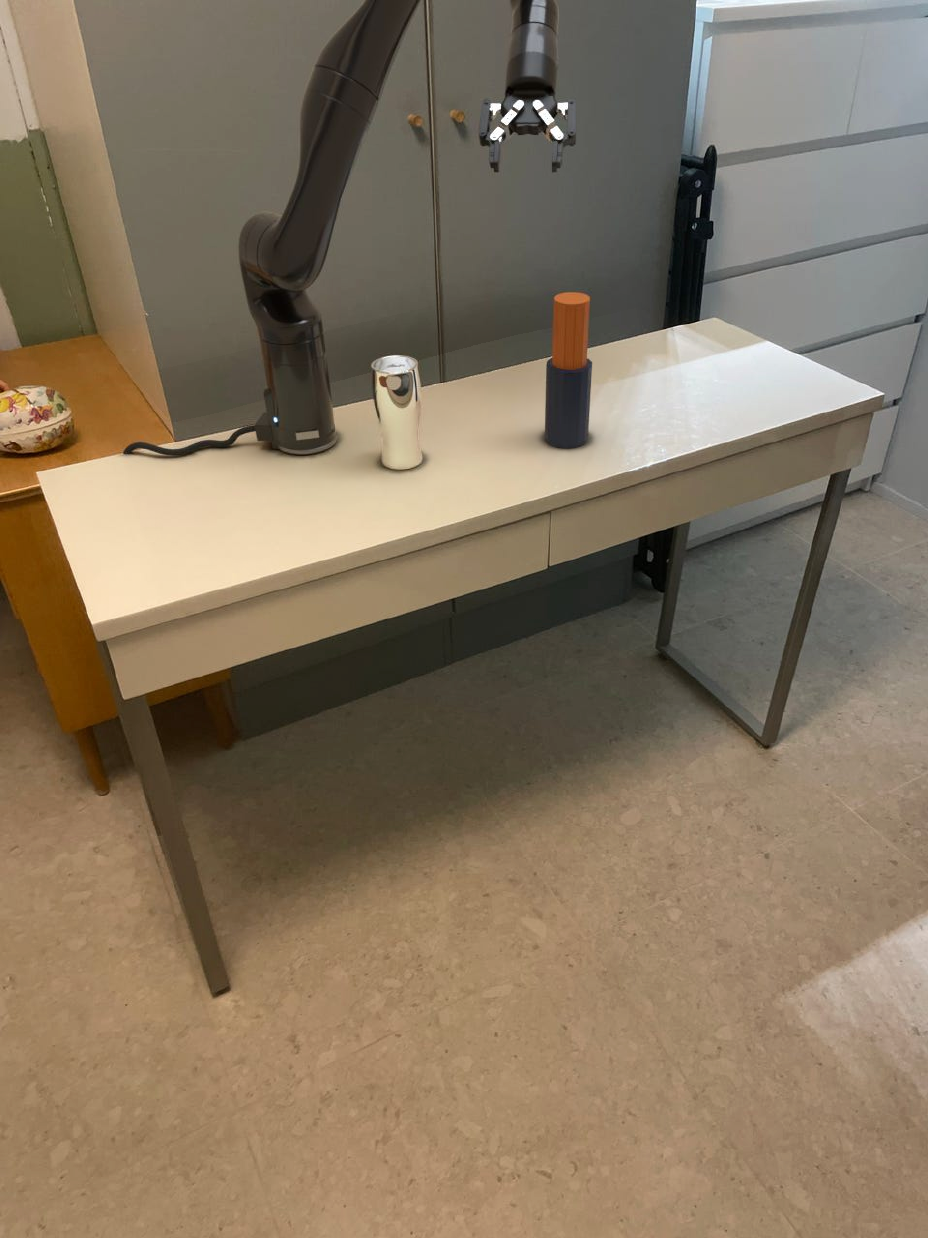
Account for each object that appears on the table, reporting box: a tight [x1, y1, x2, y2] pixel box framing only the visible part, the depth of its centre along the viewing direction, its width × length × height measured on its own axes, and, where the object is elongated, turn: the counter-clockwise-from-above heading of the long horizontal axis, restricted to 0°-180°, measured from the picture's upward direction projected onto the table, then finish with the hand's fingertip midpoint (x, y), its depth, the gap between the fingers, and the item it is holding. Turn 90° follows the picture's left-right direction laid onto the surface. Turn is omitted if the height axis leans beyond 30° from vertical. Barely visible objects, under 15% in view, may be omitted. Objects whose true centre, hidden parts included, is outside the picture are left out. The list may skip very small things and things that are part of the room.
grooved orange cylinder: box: [551, 291, 591, 370], centre depth 133 cm, size 5×5×10 cm
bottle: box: [544, 357, 593, 449], centre depth 138 cm, size 7×7×16 cm
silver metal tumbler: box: [370, 354, 423, 471], centre depth 135 cm, size 7×7×15 cm
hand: (525, 169), depth 136 cm, fingers open, 8 cm apart
